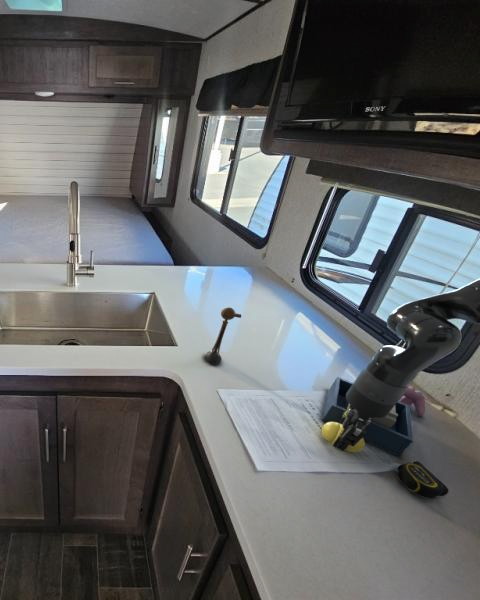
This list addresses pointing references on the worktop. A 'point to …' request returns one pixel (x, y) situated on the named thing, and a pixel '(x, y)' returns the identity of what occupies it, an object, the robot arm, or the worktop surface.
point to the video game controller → (414, 400)
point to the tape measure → (421, 480)
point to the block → (385, 421)
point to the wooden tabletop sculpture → (220, 337)
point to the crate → (375, 433)
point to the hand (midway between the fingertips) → (339, 439)
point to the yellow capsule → (332, 433)
